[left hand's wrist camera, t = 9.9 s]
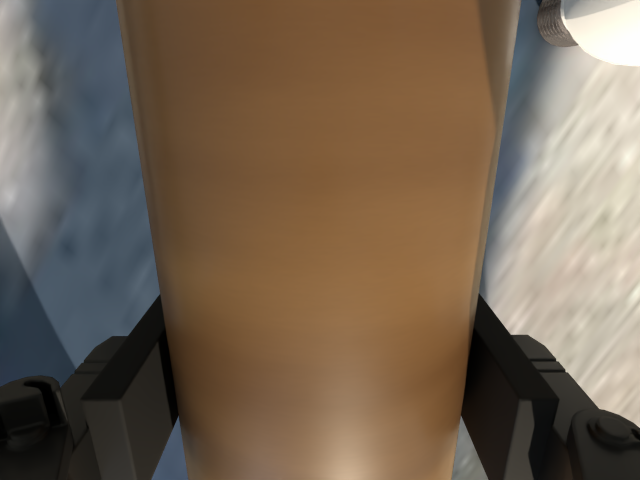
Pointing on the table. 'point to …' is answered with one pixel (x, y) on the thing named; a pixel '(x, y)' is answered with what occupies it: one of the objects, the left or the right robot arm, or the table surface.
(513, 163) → the table surface
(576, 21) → the light bulb
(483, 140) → the rod
